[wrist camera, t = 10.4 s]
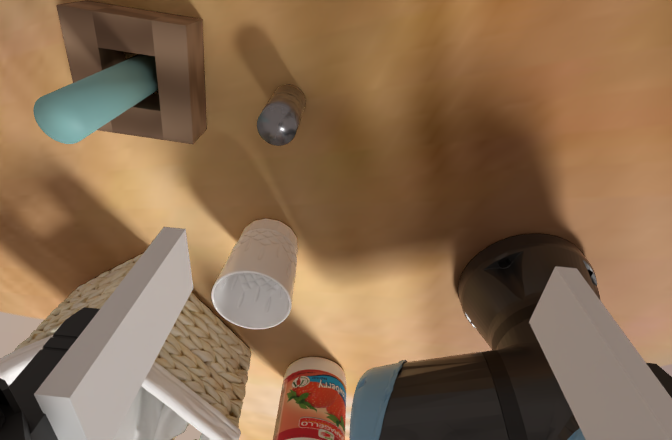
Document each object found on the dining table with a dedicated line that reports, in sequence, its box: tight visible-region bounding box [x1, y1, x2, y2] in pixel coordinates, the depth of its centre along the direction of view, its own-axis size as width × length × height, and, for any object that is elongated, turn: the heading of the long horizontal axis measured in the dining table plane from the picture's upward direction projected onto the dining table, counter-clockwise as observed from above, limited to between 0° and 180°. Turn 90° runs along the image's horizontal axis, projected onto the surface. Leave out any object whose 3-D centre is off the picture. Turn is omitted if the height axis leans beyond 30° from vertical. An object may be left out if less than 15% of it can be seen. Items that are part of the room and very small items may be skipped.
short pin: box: [257, 84, 306, 146], centre depth 36 cm, size 3×3×7 cm
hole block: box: [57, 1, 207, 144], centre depth 36 cm, size 10×10×4 cm
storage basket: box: [0, 254, 251, 440], centre depth 50 cm, size 24×16×15 cm
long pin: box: [34, 54, 158, 144], centre depth 32 cm, size 3×3×14 cm
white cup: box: [211, 218, 298, 329], centre depth 44 cm, size 8×8×10 cm
